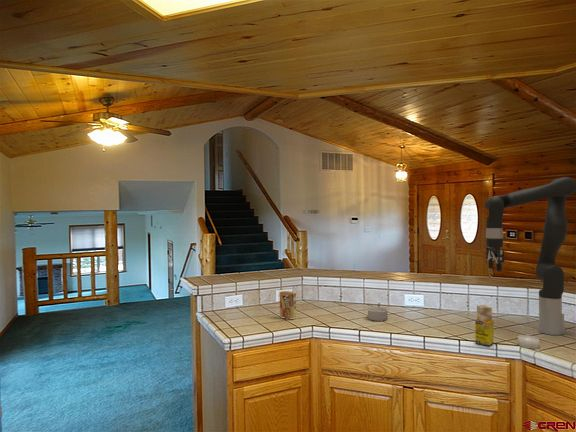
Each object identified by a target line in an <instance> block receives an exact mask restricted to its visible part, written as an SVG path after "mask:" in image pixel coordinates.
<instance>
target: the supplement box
mask: <svg viewBox="0 0 576 432" xmlns="http://www.w3.org/2000/svg"><path fill="white" fill-rule="evenodd" d="M494 323H495V322H494V319H492V321H480V320H479V319H477V318H476V319H475V323H474V324H475V325H474V326H475V327H474V328H475V329H474V330H475V331H474V333H475V345H479V346H485V347H488V348H490V347H491V346H492V345H494V341H495V340H494V338H495V337H494V332H495V331H494V329H495V328H494V327H495V326H494Z"/></svg>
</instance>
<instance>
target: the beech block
mask: <svg viewBox="0 0 576 432" xmlns="http://www.w3.org/2000/svg"><path fill="white" fill-rule="evenodd" d="M492 308H493V307H491V306H489V305H487V304H482V305H481V304H477V305H476V319H479V320H480V321H492V320H493V315H492V314H493V313H492V312H493V311H492V310H493V309H492Z"/></svg>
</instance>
